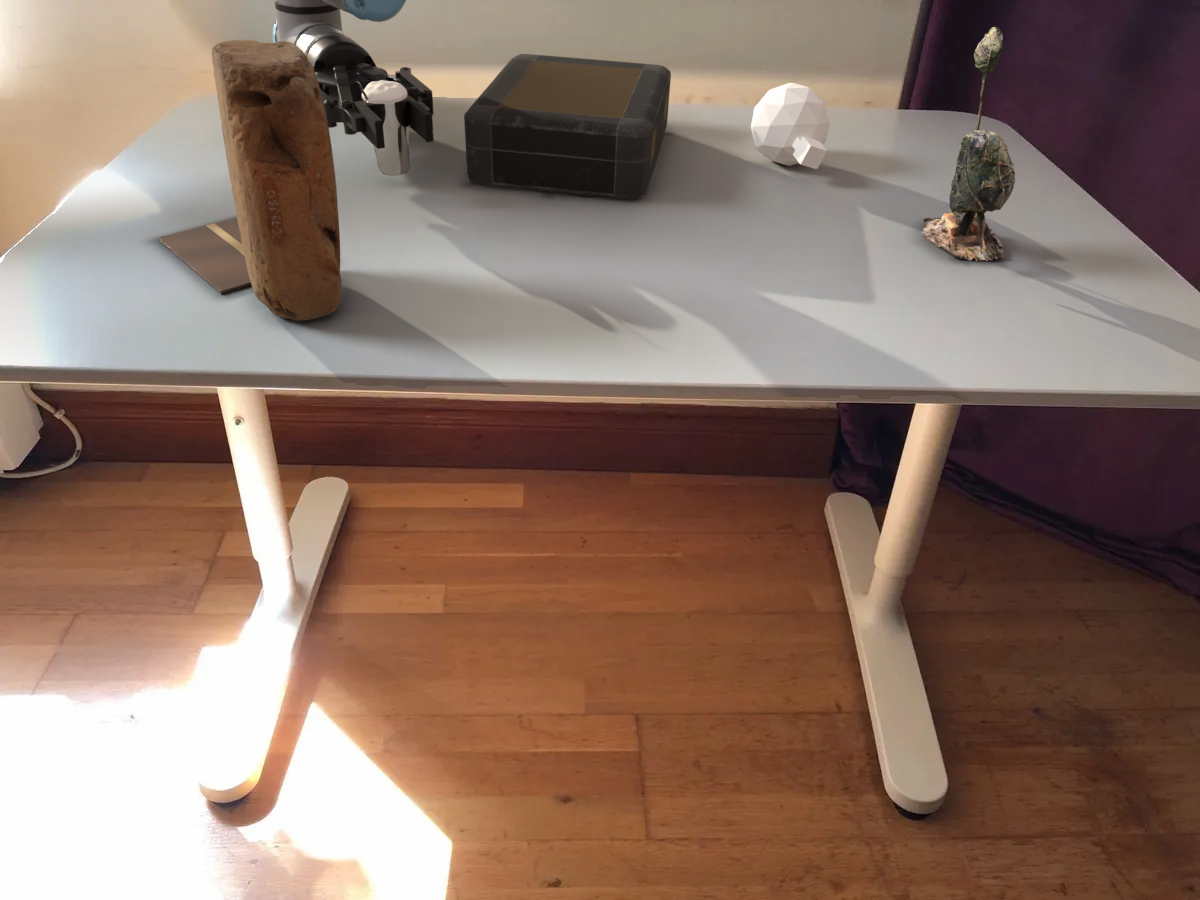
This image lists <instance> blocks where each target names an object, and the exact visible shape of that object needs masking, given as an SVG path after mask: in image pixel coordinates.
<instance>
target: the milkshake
mask: <svg viewBox="0 0 1200 900" xmlns="http://www.w3.org/2000/svg"><path fill="white" fill-rule="evenodd" d="M356 82H357V81H356ZM357 84H358V86H359V88H360V89H361V91H362V98H363V103H364V104H365V105H367V106H368V107H369V108H370V109H371V110H372V111H373V112H374V113H375V114H376V115H377V116H378V117H379V118H380V119H382V121H383V132H384V143H385V148H380V149H377V148H376V147H375V146H374V145H373V148H374V149H373V150H374V153H375V158H376V162H377V166H378V167H377V168H378V171H379V172H380V173H381V174H382V175H383V176H387V177H397V176H398V177H399V176H403V175H405V174H408V173H409V171H410V170H411V152H410V150H411V147H410V132H409V128H410V127H409V126H408V97H407V91H406V89H405V88H404V87H403V86H402V85H401V84H400V83H398V82H394V81H385V80H380V81H373V82H370V83H369V84H368V85H367V86H366V88H365V89H364V90H363V88H362V86H361V84H360V83H359V82H357Z"/></svg>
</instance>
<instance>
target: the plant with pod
mask: <svg viewBox="0 0 1200 900" xmlns="http://www.w3.org/2000/svg"><path fill="white" fill-rule="evenodd" d="M1003 38H1004V34H1003V31H1001V29H1000V28H999V27H997V26H993V27H991V28H990V29H989V31H987V32H986V33H985V34H984V35H983V38H982V39H981V40H980V42H978V43H977V46H976V48H975V50H974V53H973V59H974V63H975V64H974V66H975V68H977V69H978V70H979V72H981V73H982V76H981V89H980V100H979V101H980V102H979V105H978V108H979V110H978V114H977V122H976V124H975V125H976V126H975V130H973V131H972V132H969V133H968V134H965V135H963V137H962V141H960V144H961V145H960V149H959V151H958V156H957V160H956V163H955V171H954V175H953V179H952V180H951V185H950V186H951V189H950V193H949V205H948V206H949V209H950V212H947V213H945V212H944V213H943V214H942V216H941V217H937V218H936V217H934V218H931V217H925V218H923V219H922V221H923V222H922V223H923V229H922V232H921V234H923V235H922V238H923V239H924V240H928V241H930V242H931V243H933V244H934V245H935V246H936V247H938V248H940V247H941V248H942V250H943V251H944V252H946V253H948V254H949V255H950V256H953V257H955V258H957V259H958V258H959V260H960V259H962V260H967V261H970V262H971V261H972V260H973V259H975V261H976V262H978V261H986V262H988V261H993V260H994V259H995V260H998V259H999V258H1003V257H1004V256H1005V251H1004V250H1003V248H1004V247H1003V244H1002V241H1003V240H1002V239H998V238H997V237H996V233H993V229H992V228H990V227H989V224H988V223H987V221H986V215H985V214H986V212H990V213H992V212H994V211H1000V210H1001V209H1002V208H1003V207H1004V205H1005V204H1006V203H1007V202H1008V200H1009V198H1010V196H1011V195H1012V193H1013V190H1014V188H1015V184H1016V172H1015V165H1014V164H1015V163H1014V162H1013V161H1012V159H1011V157H1010V153H1009V150H1008V146H1007V143H1005V141H1004V139H1003V138H1002V136H1000V135H999V134H997V132H994V131H990V130H987V129H980V126H981V119H982V114H983V107H984V94H985V89H986V87H987V85H988V79H989V74H991V73H992V72H993V71H995V68H996V67H997V65H998V61H999V59H1000V56H1001V54H1002V53H1001V52H1002V49H1003Z"/></svg>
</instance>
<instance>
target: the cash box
mask: <svg viewBox="0 0 1200 900" xmlns="http://www.w3.org/2000/svg"><path fill="white" fill-rule="evenodd" d="M671 77H672V73H671V70H670V69H668V68H667V67H666V66H665V65H661V64H654V63H653V64H652V63H644V62H643V63H642V62H630V61H629V62H628V61H617V60H607V59H592V58H580V57H569V56H557V55H547V54H546V55H545V54H544V55H543V54H531V53H520V54H518V55H515V56H513V57H511V58H510V60H509V61H508V62H507V63H506V65H505V66H504V67H503V68H501V70H500V72H499V73H497V75H496V76H495V78H494V79H493V80H492V81H490V84H488V85H487V87H486V88H485V89H484V90H483V91H482V93H481V94H480V95H479V96H478V98H476V100H475V101H473V103H472V105H470V107H469V108H468V109H467V110H466V112H464V117H463V123H464V124H463V125H464V138H465V139H464V142H465V143H464V145H465V146H464V147H465V164H466V165H465V166H466V167H465V168H466V175H467V176H466V177H467V179H468V181H469V182H470V183H472V184H475V185H478V186H484V187H494V188H504V189H515V190H524V191H533V192H534V191H535V192H544V193H545V192H546V193H555V194H567V195H576V196H586V197H587V196H588V197H597V198H607V199H618V200H628V201H630V200H631V201H632V200H638V199H641V198H642V197H644V196H646V195H647V192H648V188H649V186H650V183H651V179H652V175H653V172H654V169H655V166H656V163H657V159H658V156H659V153H660V149H661V147H662V143H663V140H664V137H665V132H666V130H667V126H668V117H669V106H670V105H669V103H670V92H671V91H670V90H671V79H672V78H671Z"/></svg>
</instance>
